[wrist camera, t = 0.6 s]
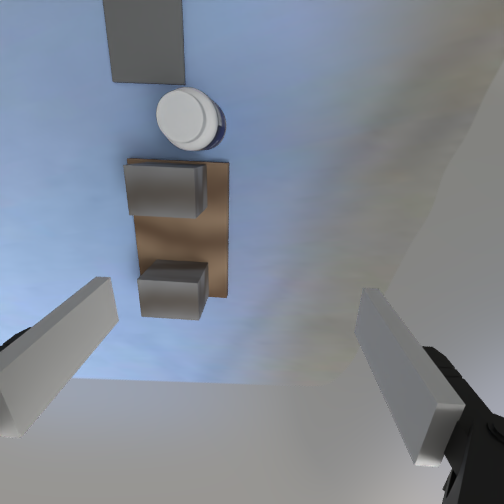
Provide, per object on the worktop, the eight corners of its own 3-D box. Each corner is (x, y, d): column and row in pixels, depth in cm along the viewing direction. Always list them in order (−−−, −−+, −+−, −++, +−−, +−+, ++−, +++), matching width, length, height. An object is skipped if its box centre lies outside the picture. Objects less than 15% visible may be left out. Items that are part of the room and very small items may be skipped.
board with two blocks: (131, 158, 34) (97, 161, 27) (229, 162, 33) (219, 167, 27) (145, 288, 40) (121, 316, 33) (227, 293, 40) (219, 323, 33)
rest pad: (103, -9, 28) (101, -11, 28) (181, -7, 28) (180, -9, 27) (114, 82, 31) (112, 81, 30) (185, 85, 31) (184, 84, 30)
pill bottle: (193, 157, 33) (166, 161, 24) (172, 111, 32) (134, 97, 22) (234, 138, 32) (221, 136, 23) (215, 90, 31) (193, 67, 22)
